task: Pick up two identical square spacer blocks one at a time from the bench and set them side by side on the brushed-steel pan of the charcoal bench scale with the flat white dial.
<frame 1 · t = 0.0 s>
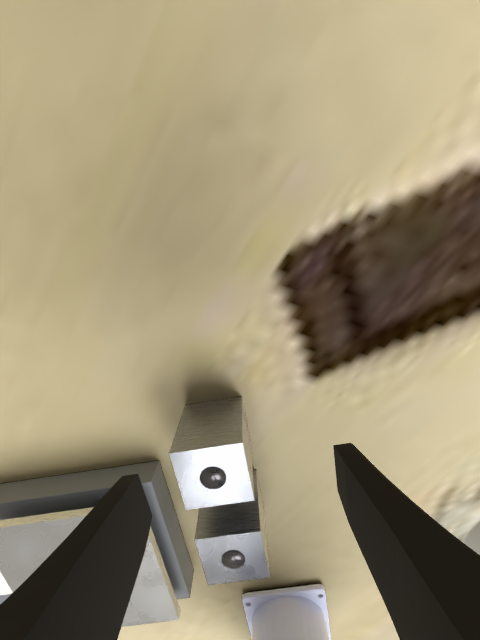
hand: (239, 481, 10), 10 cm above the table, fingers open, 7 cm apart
spacer 1: (219, 424, 21), on the table
scale housing: (80, 532, 24), on the table
pan: (93, 558, 21), point 2 cm above the table, slide at -0.2 cm
spacer 2: (234, 492, 23), on the table
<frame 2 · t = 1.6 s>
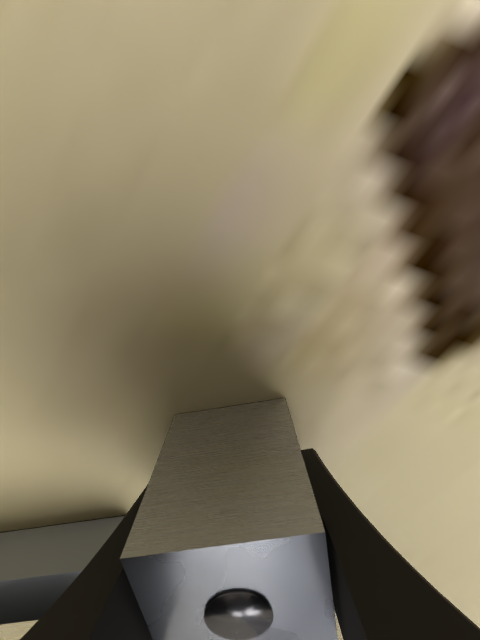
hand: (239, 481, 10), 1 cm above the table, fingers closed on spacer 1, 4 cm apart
spacer 1: (239, 452, 11), on the table, touching gripper
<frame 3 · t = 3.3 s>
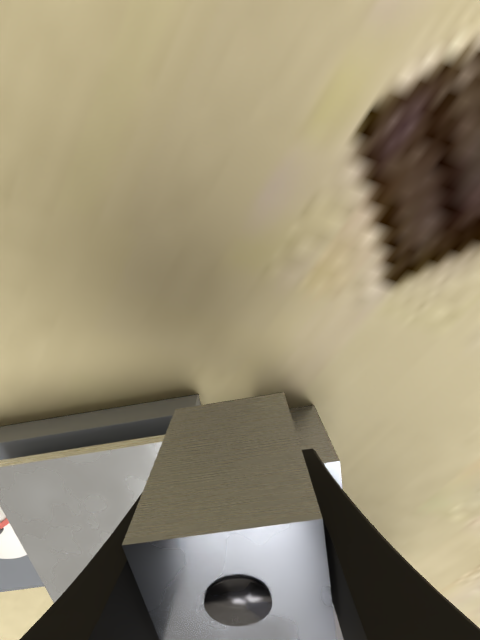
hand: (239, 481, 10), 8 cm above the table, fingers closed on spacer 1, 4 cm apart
spacer 1: (238, 446, 11), point 7 cm above the table, touching gripper
scale housing: (102, 486, 20), on the table
pan: (120, 511, 18), point 2 cm above the table, slide at -0.2 cm
spacer 2: (286, 435, 19), on the table
when the fingers open (6 cm above the table, at t = 5.2 s): spacer 1 drops 1 cm, resting on pan.
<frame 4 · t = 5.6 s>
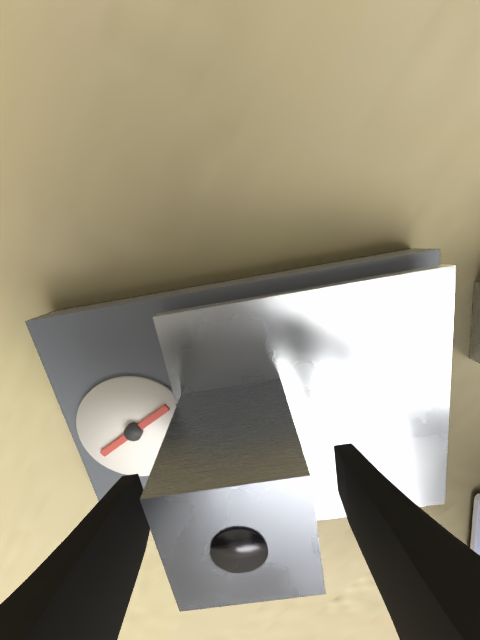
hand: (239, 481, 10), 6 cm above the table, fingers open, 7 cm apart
spacer 1: (239, 428, 12), point 4 cm above the table, touching pan
scale housing: (255, 388, 15), on the table
pan: (307, 404, 13), point 2 cm above the table, slide at -0.2 cm, touching spacer 1
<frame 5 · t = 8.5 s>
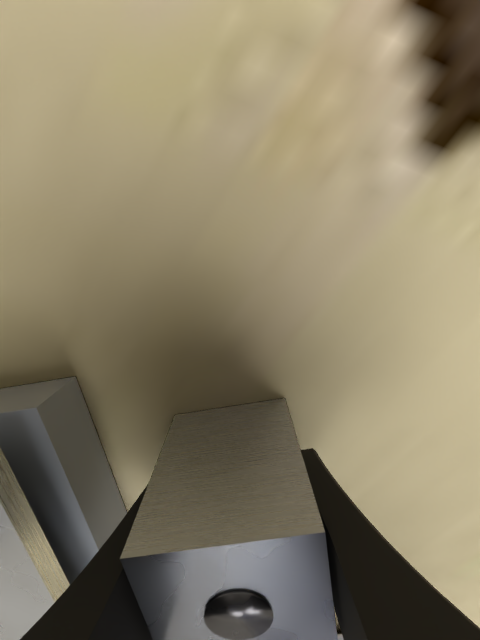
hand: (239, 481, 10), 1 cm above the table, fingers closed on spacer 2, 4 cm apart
spacer 2: (239, 452, 11), on the table, touching gripper
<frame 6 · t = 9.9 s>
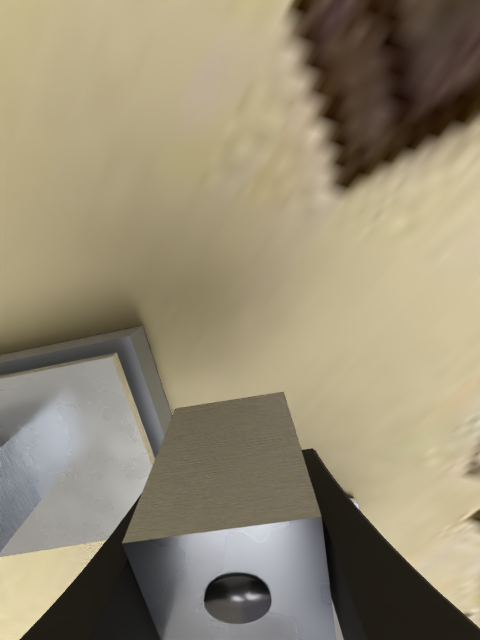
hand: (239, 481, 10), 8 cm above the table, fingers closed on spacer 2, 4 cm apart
scale housing: (49, 434, 19), on the table
pan: (62, 452, 17), point 2 cm above the table, slide at -0.2 cm, touching spacer 1
spacer 2: (238, 445, 11), point 7 cm above the table, touching gripper
when the fingers open (6 cm above the table, at t = 11.4 s): spacer 2 drops 1 cm, resting on pan.
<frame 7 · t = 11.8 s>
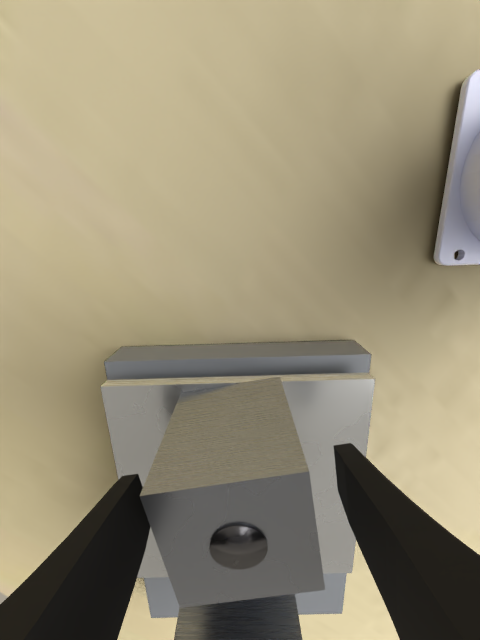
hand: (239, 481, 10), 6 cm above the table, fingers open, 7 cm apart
spacer 1: (239, 542, 14), point 4 cm above the table, touching pan
scale housing: (242, 473, 17), on the table
pan: (241, 469, 14), point 2 cm above the table, slide at -0.3 cm, touching spacer 1, spacer 2
spacer 2: (238, 426, 12), point 4 cm above the table, touching pan
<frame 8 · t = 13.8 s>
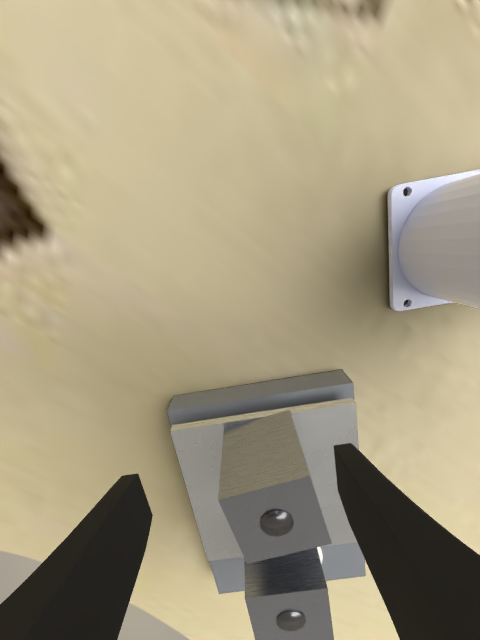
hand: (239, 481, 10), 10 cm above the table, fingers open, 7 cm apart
spacer 1: (278, 527, 19), point 4 cm above the table, touching pan
scale housing: (272, 476, 22), on the table
pan: (271, 474, 20), point 2 cm above the table, slide at -0.3 cm, touching spacer 1, spacer 2
spacer 2: (266, 446, 17), point 4 cm above the table, touching pan
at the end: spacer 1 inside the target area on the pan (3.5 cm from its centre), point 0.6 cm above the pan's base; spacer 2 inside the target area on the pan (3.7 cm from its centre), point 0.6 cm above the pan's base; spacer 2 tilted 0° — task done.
